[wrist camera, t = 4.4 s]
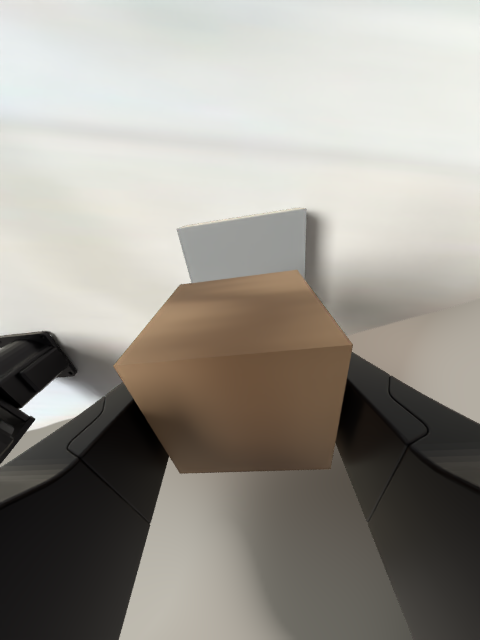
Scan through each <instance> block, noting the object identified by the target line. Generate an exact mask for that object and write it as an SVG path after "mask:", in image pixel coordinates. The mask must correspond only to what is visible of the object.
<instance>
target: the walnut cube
mask: <svg viewBox="0 0 480 640" xmlns="http://www.w3.org/2000/svg"><path fill="white" fill-rule="evenodd" d="M352 346H353V344H352V343H351V342H350V341H349V339H348V338H347V336H346V335H345V334H344V332H343V331H342V330H341V328H340V327H339V325H338V324H337V323H336V321H335V320H334V319H333V317H332V316H331V315H330V313H329V312H328V311H327V309H326V308H325V307H324V305H323V304H322V303H321V301H320V300H319V298H318V297H317V296H316V294H315V293H314V292H313V290H312V289H311V288H310V286H309V285H308V284H307V282H306V281H305V280H304V278H303V277H302V276H301V274H300V273H299V271H298V270H291V271H283V272H275V273H267V274H260V275H252V276H244V277H236V278H228V279H221V280H213V281H205V282H197V283H189V284H181V285H179V287H178V288H177V289H176V290H175V291H174V293H173V294H172V295H171V296H170V298H169V299H168V300H167V301H166V302H165V304H164V305H163V306H162V307H161V309H160V310H159V311H158V312H157V313H156V315H155V316H154V317H153V318H152V319H151V321H150V322H149V323H148V324H147V326H146V327H145V328H144V329H143V330H142V332H141V333H140V334H139V335H138V336H137V338H136V339H135V340H134V341H133V343H132V344H131V345H130V346H129V347H128V349H127V350H126V351H125V352H124V354H123V355H122V356H121V357H120V358H119V360H118V361H117V362H116V363H115V364H114V366H113V367H114V368H115V370H116V371H117V373H118V375H119V376H120V378H121V379H122V381H123V383H124V384H125V386H126V387H127V389H128V391H129V392H130V394H131V395H132V397H133V399H134V400H135V402H136V404H137V405H138V407H139V408H140V410H141V412H142V413H143V415H144V416H145V418H146V420H147V421H148V423H149V424H150V426H151V428H152V429H153V431H154V432H155V434H156V436H157V437H158V439H159V441H160V442H161V444H162V445H163V447H164V449H165V450H166V452H167V453H168V455H169V457H170V458H171V460H172V461H173V463H174V464H175V466H176V468H177V469H178V471H179V473H214V472H247V471H248V472H249V471H282V470H316V469H331V463H332V458H333V452H334V447H335V441H336V436H337V430H338V425H339V419H340V413H341V408H342V402H343V397H344V391H345V386H346V380H347V374H348V369H349V363H350V358H351V352H352Z"/></svg>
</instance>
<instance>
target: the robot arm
mask: <svg viewBox="0 0 480 640" xmlns="http://www.w3.org/2000/svg"><path fill="white" fill-rule="evenodd" d="M76 373H77V371H76V369H75V368H74V367H73V365H72V364H71V363H70V361H69V360H68V359H67V357H66V356H65V355H64V353H63V352H62V351H61V349H60V348H59V347H58V345H57V344H56V343H55V341H54V340H53V339H52V337H51V336H50V335H49V334H48V333H47V332H34V333H24V334H15V335H5V336H0V464H1V463H2V461H3V460H4V459H5V458H6V457H7V455H8V454H9V453H10V452H11V450H12V449H13V448H14V446H15V445H16V444H17V443H18V441H19V440H20V439H21V437H22V436H23V435H24V434H25V432H26V431H27V430H28V428H29V427H30V426H31V425H32V423H33V422H34V421H35V418H33V417H32V416H28V415H27V414H25V413H24V412H22V411H21V410H19V409H20V408H22V407H23V406H24V405H25V404H27V403H28V402H29V401H30V400H31V399H32V398H33V397H34V396H35V395H36V394H38V393H39V392H40V391H42V390H43V389H44V388H45V387H46V386H47V385H48V384H49V383H51V382H52V381H53V380H54V379H55V378H56V377H68V376H74V375H75V374H76ZM335 443H336V445H337V447H338V450H339V453H340V455H341V458H342V460H343V463H344V465H345V468H346V471H347V473H348V476H349V478H350V481H351V483H352V485H353V488H354V491H355V493H356V496H357V498H358V501H359V503H360V506H361V508H362V511H363V514H364V516H365V519H366V521H367V522H368V526H369V529H370V532H371V534H372V537H373V539H374V542H375V544H376V547H377V549H378V552H379V554H380V557H381V559H382V562H383V564H384V567H385V570H386V572H387V575H388V577H389V580H390V581H391V585H392V587H393V590H394V592H395V594H396V597H397V600H398V602H399V605H400V607H401V610H402V613H403V615H404V617H405V620H406V623H407V625H408V628H409V630H410V633H411V635H412V638H413V640H480V424H479V423H477V422H475V421H473V420H471V419H469V418H467V417H465V416H463V415H461V414H459V413H457V412H456V411H453V410H451V409H450V408H448V407H446V406H444V405H442V404H440V403H439V402H437V401H435V400H433V399H431V398H429V397H427V396H425V395H423V394H422V393H420V392H418V391H417V390H415V389H413V388H412V387H410V386H408V385H406V384H405V383H403V382H401V381H400V380H398V379H396V378H395V377H393V376H390V375H389V374H388V373H386V372H385V371H383V370H381V369H380V368H378V367H376V366H375V365H373V364H371V363H370V362H368V361H366V360H365V359H363V358H361V357H360V356H358V355H356V354H355V353H353V352H351V358H350V363H349V369H348V374H347V380H346V386H345V391H344V397H343V402H342V408H341V413H340V419H339V425H338V430H337V436H336V441H335ZM168 458H169V455H168V453H167V452H166V450H165V449H164V447H163V445H162V444H161V442H160V441H159V439H158V437H157V436H156V434H155V432H154V431H153V429H152V428H151V426H150V424H149V423H148V421H147V420H146V418H145V416H144V415H143V413H142V412H141V410H140V408H139V407H138V405H137V404H136V402H135V400H134V399H133V397H132V395H131V394H130V392H129V391H128V389H127V387H126V386H125V384H124V383H121V384H120V385H119V386H117V387H116V388H115V389H113V390H112V391H111V392H109V393H108V394H107V395H106V397H102V398H101V399H100V400H99V401H97V402H96V403H95V404H93V405H92V406H90V407H89V408H88V409H86V410H85V411H84V412H82V413H81V414H79V415H78V416H77V417H75V418H74V419H72V420H71V421H69V422H68V423H66V424H65V425H63V426H62V427H61V428H59V429H58V430H56V431H55V432H53V433H52V434H50V435H49V436H47V437H46V438H44V439H43V440H41V441H40V442H38V443H37V444H35V445H34V446H32V447H31V448H29V449H28V450H26V451H25V452H23V453H22V454H20V455H19V456H17V457H16V458H14V459H13V460H12V461H10V462H8V463H7V464H5V465H4V466H2V467H0V640H119V636H120V633H121V629H122V626H123V622H124V618H125V615H126V611H127V608H128V604H129V600H130V597H131V593H132V589H133V586H134V582H135V578H136V575H137V571H138V568H139V564H140V560H141V557H142V553H143V549H144V546H145V542H146V539H147V535H148V531H149V527H150V522H151V520H152V516H153V513H154V508H155V505H156V501H157V498H158V494H159V491H160V487H161V483H162V479H163V476H164V473H165V469H166V465H167V462H168Z"/></svg>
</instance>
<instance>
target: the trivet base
mask: <svg viewBox="0 0 480 640" xmlns="http://www.w3.org/2000/svg"><path fill="white" fill-rule="evenodd" d="M177 232H178V236H179V239H180V243H181V247H182V250H183V254H184V257H185V261H186V265H187V268H188V272H189V275H190V279H191V283H197V282H205V281H213V280H221V279H228V278H236V277H244V276H252V275H260V274H267V273H275V272H283V271H291V270H298V271H299V273H300V274H301V276H302V277H303V278H304V280H305V249H306V208H292V209H286V210H280V211H273V212H267V213H261V214H254V215H248V216H242V217H236V218H229V219H223V220H217V221H210V222H204V223H198V224H192V225H186V226H183V227H181V228H178V229H177Z"/></svg>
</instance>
